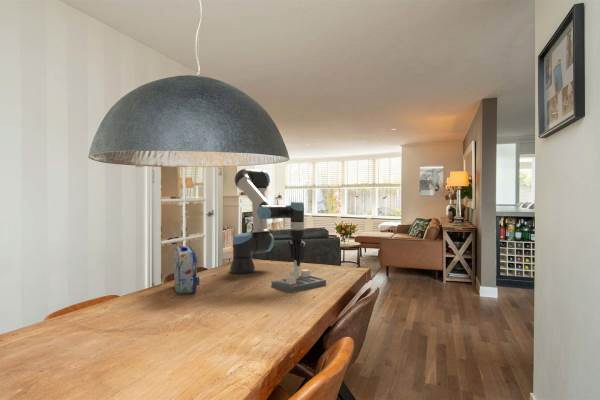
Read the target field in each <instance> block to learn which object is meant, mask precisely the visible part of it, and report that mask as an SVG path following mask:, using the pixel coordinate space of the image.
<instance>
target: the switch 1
mask: <svg viewBox="0 0 600 400" xmlns="http://www.w3.org/2000/svg"><path fill="white" fill-rule="evenodd" d="M285 277H286V278H285V279H286V283H287V284H290V285H292V284H296V276H290V275H288V276H285Z"/></svg>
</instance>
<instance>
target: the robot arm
mask: <svg viewBox="0 0 600 400" xmlns="http://www.w3.org/2000/svg"><path fill="white" fill-rule="evenodd" d="M237 171H238V172H236V174H235V177H234V183H235V186H236V187H237V188H238V190H239V191H242V192H243V193H244V194H245V196H246V197H247V198H248V199H249V200H250V202H251V206H252V218H253V223H252V225H253V230H252V231H251V232H242V233H241V232H240V233H237V234H235V235H234V236H233V239H232V260H231V261H232V262H231V264H230V268H229V272H230V273H231V274H237V275H240V274H252V273H254V272H255V271H256V270H255V269H256V268H255V267H256V266H255V264H254V261H253V254H259V253H267V252H271V250H272V249H273V247H274V245H275V238H274V236H273V234H271V230H270V229H268V222H267V220H270V219H273V220H274V219H290V237H291V240H289V241H288V245H289V251H290V258H291V259H293V268H294V269H293V272H294V271H296V272H299V273H300V272H301V269H300V268H301V267H300V266H301V260H303V259H304V254H305V250H306V245H307V242H305V241H304V239H303V238H304V236H305V206H304V205H305V204H304V202H302V201H292V202H290V205H287V204H282V205H281V204H280V205H277V204H276V205H275V204H274V205H273V204H271V203H270V202H269V201H268V199H267V198H266V195H265V194H266V193H265V192H266V191H267V189H268V187H269V186H270V183H271V181H270V175H269V173H268V171H266V170H263V169H255V168H254V169H253V168H242V169H240V170H237Z"/></svg>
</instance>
